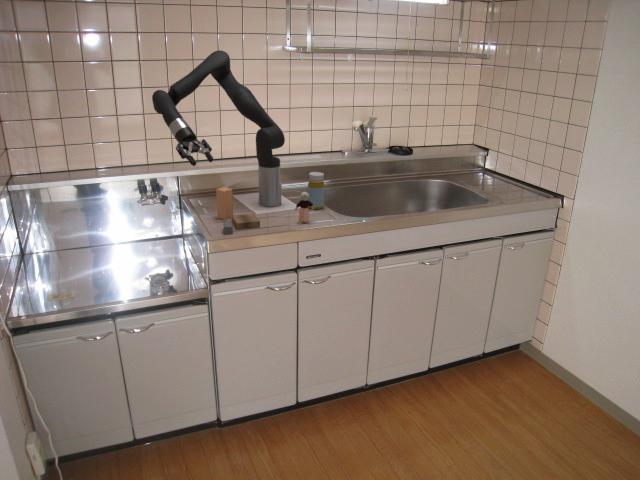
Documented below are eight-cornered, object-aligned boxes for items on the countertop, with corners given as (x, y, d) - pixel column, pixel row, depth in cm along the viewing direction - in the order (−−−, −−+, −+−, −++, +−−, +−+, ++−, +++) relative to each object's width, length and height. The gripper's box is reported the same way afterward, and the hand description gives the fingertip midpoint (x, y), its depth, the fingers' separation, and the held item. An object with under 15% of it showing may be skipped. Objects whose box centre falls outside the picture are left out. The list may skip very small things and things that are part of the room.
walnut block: (254, 220, 209) (254, 213, 208) (259, 228, 202) (259, 221, 200) (232, 222, 206) (231, 215, 205) (236, 230, 199) (236, 223, 197)
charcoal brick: (231, 228, 200) (231, 221, 199) (232, 234, 194) (232, 226, 193) (223, 228, 199) (223, 221, 198) (224, 234, 194) (224, 227, 193)
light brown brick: (225, 214, 213) (224, 186, 209) (233, 217, 211) (232, 189, 206) (217, 217, 210) (216, 189, 205) (224, 220, 207) (223, 191, 203)
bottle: (326, 206, 228) (327, 173, 222) (319, 210, 222) (320, 176, 216) (311, 203, 230) (312, 170, 224) (304, 208, 224) (305, 174, 219)
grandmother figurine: (297, 224, 205) (297, 194, 200) (293, 221, 209) (294, 191, 204) (315, 222, 208) (316, 192, 203) (311, 219, 211) (312, 189, 207)
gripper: (193, 136, 220) (213, 165, 217) (164, 140, 209) (185, 171, 206) (199, 124, 215) (220, 154, 212) (171, 128, 204) (192, 159, 201)
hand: (203, 162), depth 209 cm, fingers open, 8 cm apart
